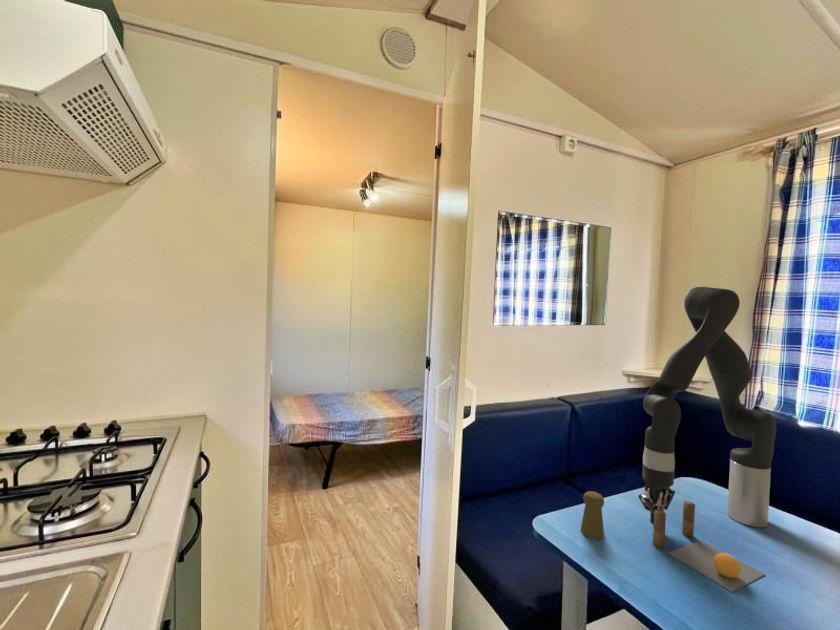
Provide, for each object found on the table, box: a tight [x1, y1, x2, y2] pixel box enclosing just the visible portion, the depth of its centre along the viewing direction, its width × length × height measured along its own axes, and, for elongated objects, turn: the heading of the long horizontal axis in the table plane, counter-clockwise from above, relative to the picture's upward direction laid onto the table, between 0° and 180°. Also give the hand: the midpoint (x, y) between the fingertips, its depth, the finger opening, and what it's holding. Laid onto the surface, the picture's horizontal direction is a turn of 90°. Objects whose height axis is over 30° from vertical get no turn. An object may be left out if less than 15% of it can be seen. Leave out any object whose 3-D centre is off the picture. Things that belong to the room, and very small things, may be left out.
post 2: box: [681, 500, 696, 539], centre depth 105 cm, size 3×3×9 cm
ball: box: [713, 552, 741, 578], centre depth 89 cm, size 5×5×5 cm
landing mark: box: [668, 539, 766, 593], centre depth 93 cm, size 14×14×1 cm
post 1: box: [652, 510, 667, 550], centre depth 99 cm, size 3×3×9 cm
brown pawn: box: [580, 490, 605, 540], centre depth 104 cm, size 6×6×11 cm
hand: (655, 524), depth 107 cm, fingers closed
